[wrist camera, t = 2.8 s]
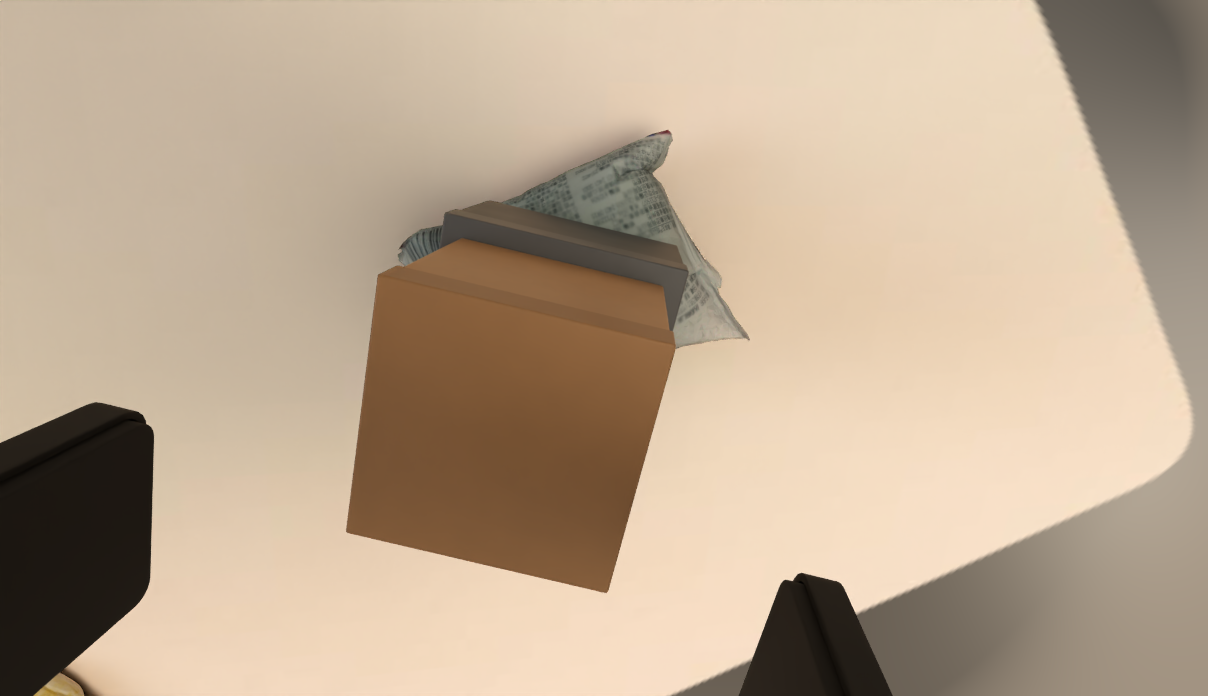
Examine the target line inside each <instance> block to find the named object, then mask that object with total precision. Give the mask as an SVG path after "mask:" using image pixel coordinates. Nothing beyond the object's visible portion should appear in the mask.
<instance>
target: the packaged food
mask: <svg viewBox="0 0 1208 696" xmlns="http://www.w3.org/2000/svg"><path fill="white" fill-rule="evenodd" d="M672 141H673V139H672V134H671V132H670V131H668V130H666V131H662V132H658V133H655V134H651V135H649V136H647V137H645V138H643V139H641V140H638V141H636V142H633V143H631V144H629V145H627V146H624V147H622V148H620V149H618V150H615V151H613V152H611V153H609V154H607V155H605V156H602V157H600V158H598V159H596V160H593V161H591V162H588V163H586V164H584V165H581V166H579V167H576V168H574V169H571V170H569V171H567V172H565V173H563V174H561V175H559V176H558V177H556V178H554V179H552V180H551V181H549V182H546V183H543V184H540V185H538V186H536V187H534V188H532V189H530V190H528V191H527V192H525V193H524V194H522V195H520V196H518V197H515V198H512V199H510V200H507V201H505V202H502V203H503V204H507V205H511V206H515V207H519V208H523V209H528V210H532V211H536V212H540V213H544V214H548V215H552V216H557V217H561V218H565V219H569V220H573V221H577V222H581V223H586V224H590V225H594V226H598V227H602V228H606V229H610V230H615V231H619V232H623V233H627V234H631V235H635V236H639V237H644V238H648V239H652V240H656V241H660V242H664V243H668V244H673V245H676V246H677V247H678V250H679V253H680V255H681V258H682V261H683V264H685V265H687V268H688V271H689V275H688V278H687V282H686V285H685V289H684V293H683V296H682V300H681V304H680V307H679V311H678V314H677V318H676V322H675V325H674V329H673V332H674V338H675V344H676V348H679V347H682V346H687V345H693V344H700V343H704V342H709V341H718V340H723V339H742V338H746V339H748V340H750V339H749V337H748V334H747V333H746V332H745V331H744V329H743V328H742V327H741V325H740V324H739V323H738V322H737V320H736V319H735V318H734V317H733V315H732V313H731V311H730V309H729V307H728V305H727V304H726V303H725V302H724V300H723V299H722V298H721V297H720V295H719V292H718V289H717V287H718V288H721V281H722V279H721V276H720V274H719V273H718V272H717V271H716V270H715V268H714V267H713V266H712V265H711V264H710V263H709V262H708V261H707V260H704V258H703V257H702V255H701V254H700V252H699V250H698V249H697V248H696V246H695V245H694V243H693V242H692V240H691V238H690V237H689V235H688V233H687V232H686V230H685V228H684V227H683V225H682V223H681V221H680V220H679V218H678V216H677V215H676V213H675V211H674V209H673V208H672V206H671V204H670V202H669V200H668V197H667V195H666V193H665V190H664V188H663V186H662V184H661V183H660V182H659V181H658V180H657V179H656V178H655V177H654V176H653V174H652V173H653V172H654V171H655V170H656V169H657V168H659V167H660V166H661V165H662V164H663V163H664V161H665V158H666V156H667V153H668V149H669V146H670V144H671V142H672ZM442 228H443V225H442V226H437V227H431V228H426V229H421V230H420V231H418V232H417V233H415V234H413V235H412V236H410V237H409V238H408V239H407V240H406V241H405V242H404V243H403V244H402V245H401V247H400V248H399V249H402V252H401V253H400V254H398V257H399V261H400V262H401V263H403V264H404V265H405V266H406V265H408V264H410V263H412V262H414V261H416V260H418V259H421V258H423V257H425V256H427V255H429V254H431V253H433V252H435V251H437V250H439V248H440V241H441V235H442ZM399 249H398V250H399Z"/></svg>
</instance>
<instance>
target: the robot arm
mask: <svg viewBox="0 0 1208 696" xmlns="http://www.w3.org/2000/svg"><path fill="white" fill-rule="evenodd" d="M153 453H154V433H153V430H152V428H151V427H150V426H149V425H147V424H146V420H145V418H144V417H143V415H142V414H140V413H139V412H137V411H132V410H128V409H124V408H120V407H116V406H112V405H108V404H104V403H97V402H95V403H91V404H88V405H85V406H83V407H81V408H79V409H76V410H74V411H72V412H70V413H67V414H65V415H63V416H60V417H58V418H56V419H54V420H51V421H49V422H47V423H45V424H42V425H40V426H38V427H35V428H33V429H31V430H29V431H26V432H24V433H22V434H20V435H17V436H15V437H13V438H11V439H8V440H6V441H4V442H1V443H0V696H34V695H35V694H36V693H37V692H38V691H39V690H40V689H42V688H43V687H44V686H45V685H46V684H47V683H48V682H50V681H51V680H52V679H53V678H54V677H55V676H56V675H58V674H59V673H60V672H61V671H62V670H63V669H64V668H66V667H67V666H68V665H69V664H70V663H71V662H72V661H74V660H75V659H76V658H77V657H78V656H79V655H80V654H82V653H83V652H84V651H85V650H86V649H87V648H88V647H90V646H91V645H92V644H93V643H94V642H95V641H96V640H98V639H99V638H100V637H101V636H102V635H103V634H104V633H106V632H107V631H108V630H109V629H110V628H111V627H112V626H114V625H115V624H116V623H117V622H118V621H119V620H120V619H122V618H123V617H124V616H125V615H126V614H127V613H128V612H130V611H131V610H132V609H133V608H134V607H135V606H136V605H137V604H138V603H139V602H140V600H141V599H142V598H143V596H144V594H145V593H146V591H147V588H148V585H149V582H150V566H151V528H152V490H153ZM739 696H892V693H891V691H890V689H889V687H888V684H887V682H886V680H885V678H884V675H883V673H882V671H881V669H880V667H879V664H878V662H877V660H876V658H875V656H874V654H873V651H872V649H871V647H870V645H869V643H868V640H867V638H866V636H865V634H864V632H863V629H862V627H861V625H860V623H859V620H858V618H857V616H856V614H855V611H854V609H853V607H852V605H851V603H850V600H849V598H848V596H847V594H846V592H845V589H844V587H843V586H842V584H841V583H839V582H837V581H833V580H828V579H824V578H820V577H816V576H812V575H808V574H804V573H800V574H798V575H797V576H796V577H795V578H794V580H793V581H789V580H784V581H783V582H782V583H781V585H780V587H779V589H778V592H777V595H776V597H775V600H774V603H773V605H772V608H771V611H770V613H769V616H768V619H767V621H766V624H765V627H764V630H763V632H762V635H761V638H760V640H759V643H758V646H757V648H756V651H755V654H754V656H753V659H752V662H751V665H750V667H749V670H748V672H747V675H746V678H745V680H744V683H743V686H742V689H741V691H740V694H739Z"/></svg>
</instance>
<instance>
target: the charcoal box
mask: <svg viewBox="0 0 1208 696" xmlns="http://www.w3.org/2000/svg"><path fill="white" fill-rule="evenodd" d="M461 238H464V239H468V240H472V241H476V242H481V243H485V244H489V245H493V246H497V247H501V248H506V249H510V250H514V251H518V252H522V253H526V254H531V255H535V256H539V257H543V258H547V259H552V260H556V261H560V262H564V263H568V264H572V265H577V266H581V267H585V268H589V269H593V270H597V271H602V272H606V273H610V274H614V275H618V276H623V277H627V278H631V279H635V280H639V281H643V282H648V283H652V284H656V285H660V286H662V287H663V289H664V296H665V302H666V309H667V316H668V323H669V329H670V331H673V329H674V325H675V322H676V318H677V314H678V311H679V307H680V304H681V300H682V296H683V293H684V289H685V285H686V282H687V278H688V275H689V271H688V268H687V265H685V264H683V261H682V258H681V255H680V253H679V250H678V247H677V246H676V245H673V244H668V243H664V242H660V241H656V240H652V239H648V238H644V237H639V236H635V235H631V234H627V233H623V232H619V231H615V230H610V229H606V228H602V227H598V226H594V225H590V224H586V223H581V222H577V221H573V220H569V219H565V218H561V217H557V216H552V215H548V214H544V213H540V212H536V211H532V210H528V209H523V208H519V207H515V206H511V205H507V204H503V203H499V202H494V201H486V202H483V203H480V204H477V205H474V206H471V207H468V208H465V209H463V210H457V209H455V210H452V211H449V212H446V213H445V215H444V222H443V228H442V235H441V241H440V248H439V249H441V248H443V247H445V246H447V245H449V244H451V243H453V242H455V241H457V240H459V239H461Z"/></svg>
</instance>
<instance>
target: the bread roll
mask: <svg viewBox="0 0 1208 696" xmlns="http://www.w3.org/2000/svg"><path fill="white" fill-rule="evenodd" d="M34 696H84V693H83V690H82V688H81V687H80V686H79V684H77V683H76V682H75V681H73V680H72V679H70V678H68V677H67V676H65V675H63V674H61V673H59V674H58V675H56V676H55V677H54V678H53V679H52V680H51V681H50V682H48V683H47V684H46V685H45V686H44V687H43V688H42V689H40V690H39V691H38V692H37V693H36V694H35V695H34Z"/></svg>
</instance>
